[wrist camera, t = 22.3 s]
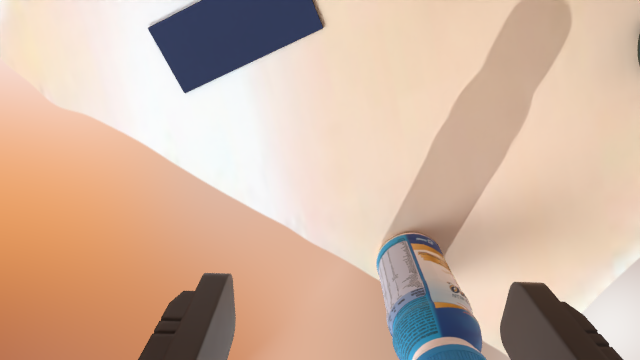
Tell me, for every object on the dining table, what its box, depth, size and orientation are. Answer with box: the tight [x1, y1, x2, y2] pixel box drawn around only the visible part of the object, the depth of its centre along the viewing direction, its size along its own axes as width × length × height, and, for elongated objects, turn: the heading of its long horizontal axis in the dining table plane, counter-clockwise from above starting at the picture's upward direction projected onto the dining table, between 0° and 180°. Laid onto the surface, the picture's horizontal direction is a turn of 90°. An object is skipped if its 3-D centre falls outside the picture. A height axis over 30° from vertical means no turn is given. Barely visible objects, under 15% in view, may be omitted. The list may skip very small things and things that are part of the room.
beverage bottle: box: [377, 233, 486, 360], centre depth 39 cm, size 8×8×20 cm
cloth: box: [148, 0, 323, 93], centre depth 38 cm, size 16×7×1 cm, turn 114°
